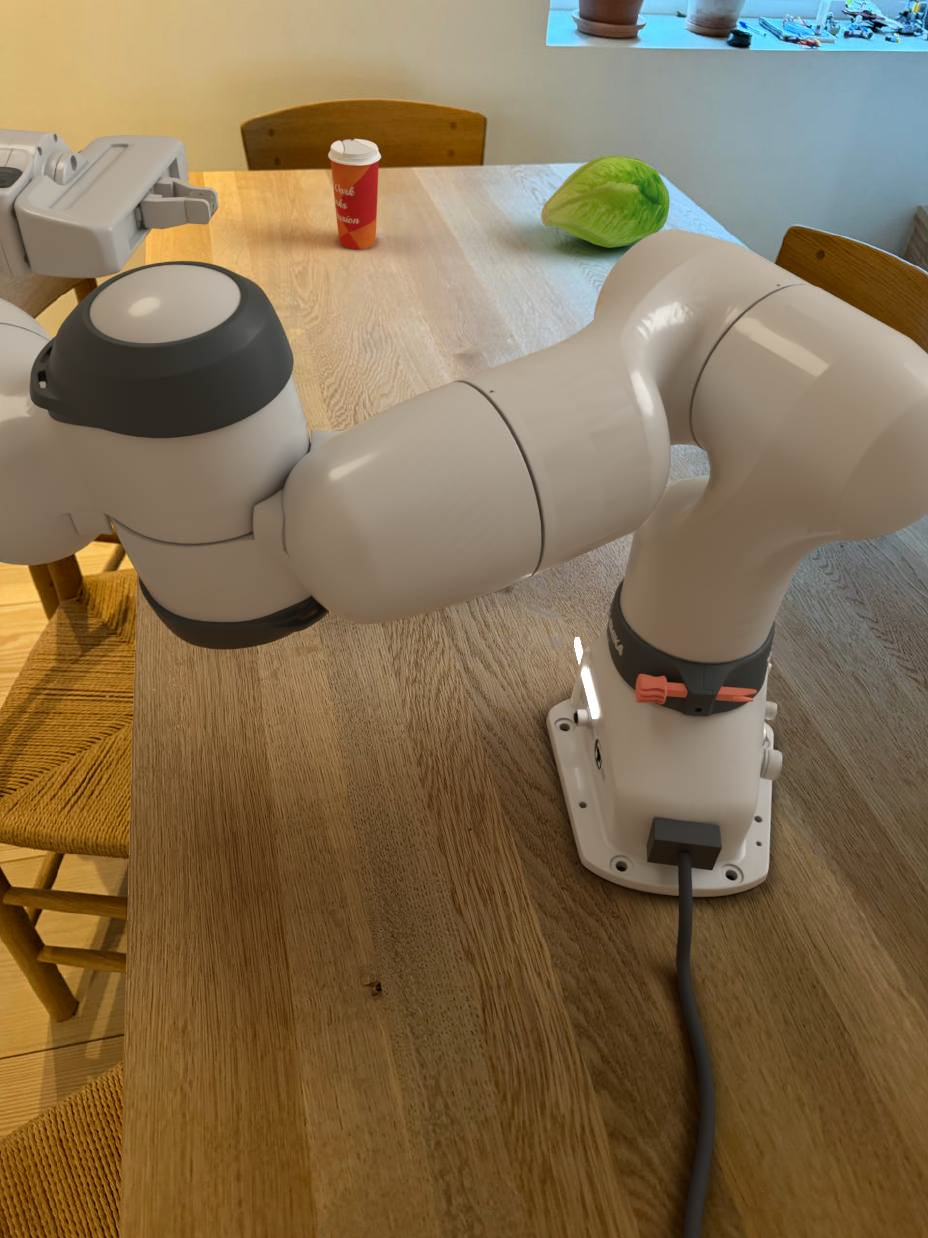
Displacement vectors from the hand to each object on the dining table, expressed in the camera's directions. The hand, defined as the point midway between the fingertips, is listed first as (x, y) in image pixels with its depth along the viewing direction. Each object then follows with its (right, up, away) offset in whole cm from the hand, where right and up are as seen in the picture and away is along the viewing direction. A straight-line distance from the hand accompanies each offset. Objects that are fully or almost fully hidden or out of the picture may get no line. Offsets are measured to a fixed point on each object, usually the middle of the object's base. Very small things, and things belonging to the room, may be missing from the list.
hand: (213, 206), depth 75 cm
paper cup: (+3, +26, +73) cm, 78 cm away
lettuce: (+41, +27, +77) cm, 92 cm away
